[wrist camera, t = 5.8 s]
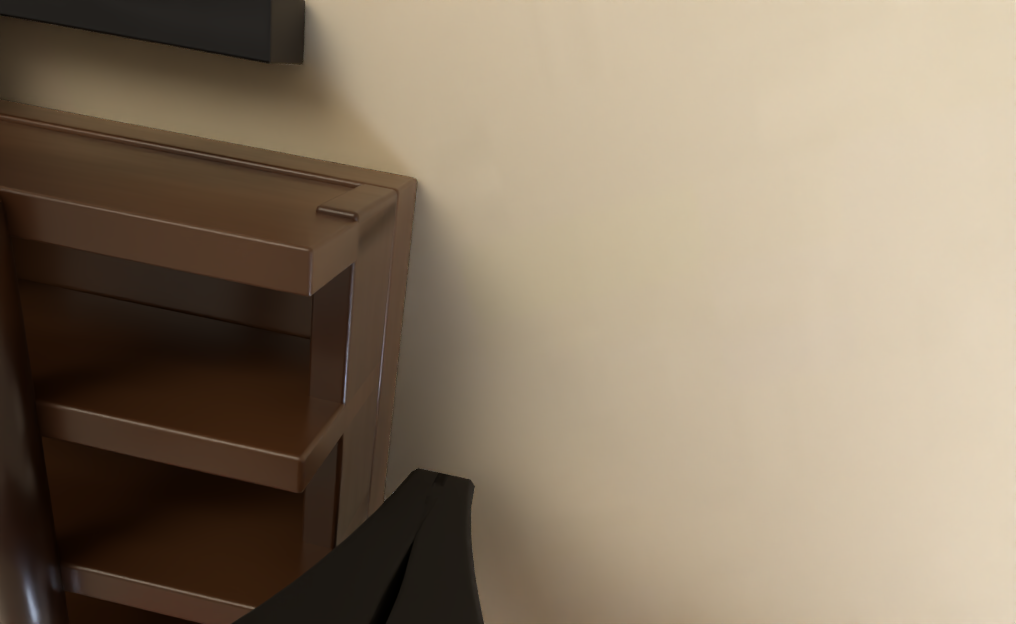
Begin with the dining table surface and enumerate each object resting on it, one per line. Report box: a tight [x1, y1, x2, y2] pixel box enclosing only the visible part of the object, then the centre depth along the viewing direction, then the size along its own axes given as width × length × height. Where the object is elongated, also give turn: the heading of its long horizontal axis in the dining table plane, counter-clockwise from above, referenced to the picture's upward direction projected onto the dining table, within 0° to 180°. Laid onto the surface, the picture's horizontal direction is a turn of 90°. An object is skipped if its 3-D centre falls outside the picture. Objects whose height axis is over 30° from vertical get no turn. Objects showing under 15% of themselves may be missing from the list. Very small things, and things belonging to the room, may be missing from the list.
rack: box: [0, 99, 417, 624], centre depth 11 cm, size 8×12×5 cm, turn 171°
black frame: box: [0, 0, 305, 65], centre depth 12 cm, size 7×17×2 cm, turn 171°
